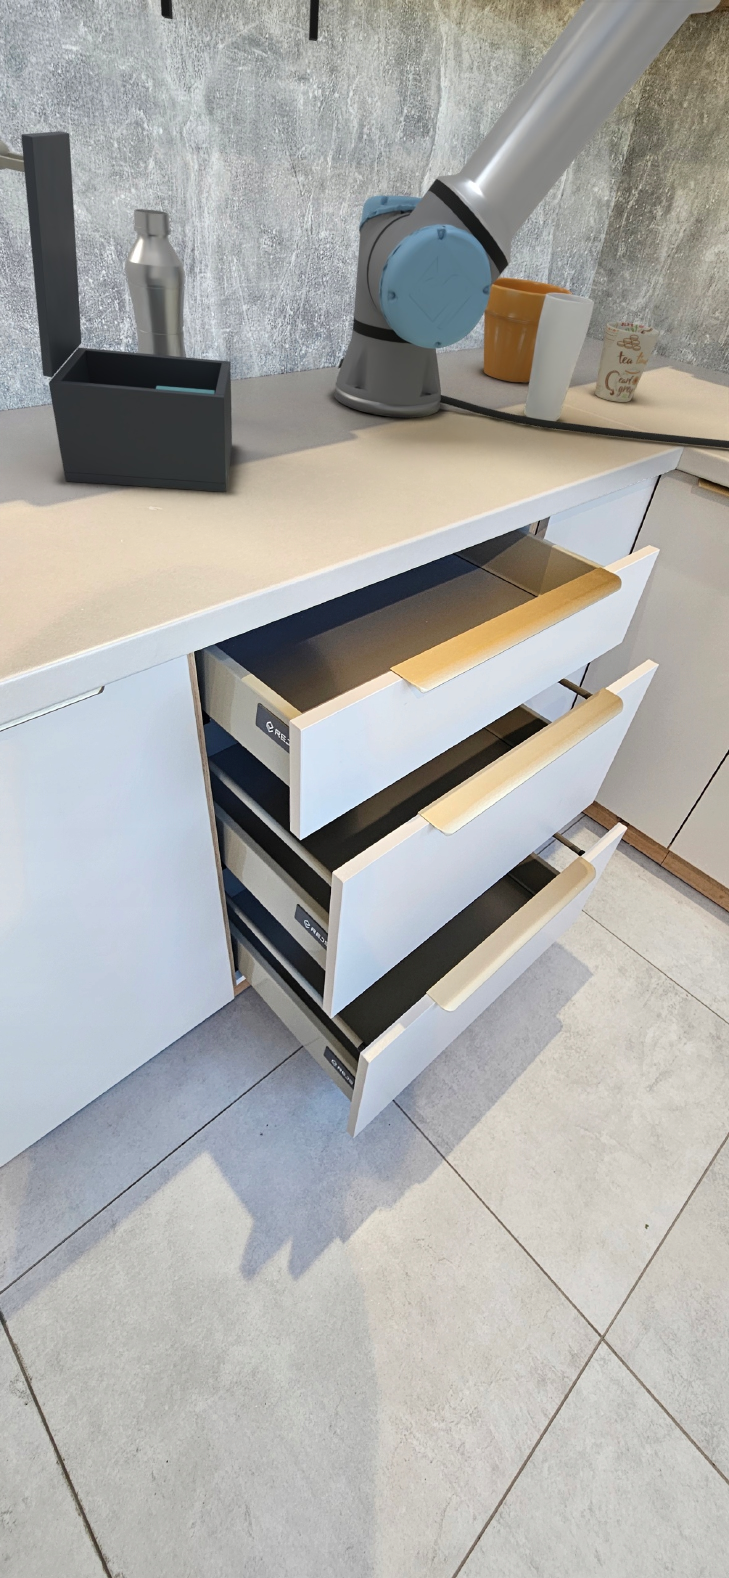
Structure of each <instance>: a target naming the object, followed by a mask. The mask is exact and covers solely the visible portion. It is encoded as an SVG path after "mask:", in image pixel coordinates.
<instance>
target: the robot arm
mask: <svg viewBox="0 0 729 1578" xmlns="http://www.w3.org/2000/svg"><path fill="white" fill-rule="evenodd" d="M721 2H722V0H584V1H583V3H582V4H581V6H580V7H579V8H578V9H577V11H576V12H575V14H574V15H573V17H572V18H571V19H570V20H569V22H568V23H567V25H566V26H565V28H564V29H562V32H561V33H560V34H559V35H558V37H557V38H556V40H555V41H554V42H553V44H552V45H551V47H550V48H549V49H548V50H547V52H546V53H545V54H544V56H543V57H542V59H541V60H540V62H539V63H538V64H537V66H536V67H535V68H534V69H533V71H532V72H531V74H530V75H529V77H528V78H527V79H526V80H525V82H524V83H523V85H521V87H520V88H519V90H518V91H517V92H516V94H515V96H514V97H513V99H512V100H511V101H510V102H509V104H508V105H507V106H506V108H505V109H504V111H503V112H502V114H501V115H500V116H499V117H498V119H497V120H496V122H494V124H493V126H492V127H491V128H490V130H489V131H488V133H487V134H486V135H485V137H484V138H483V139H482V140H481V142H480V144H479V145H478V146H477V148H476V149H475V151H474V152H472V154H471V155H470V157H469V158H468V160H467V161H466V163H465V164H464V166H463V167H462V168H461V169H460V171H459V172H457V173H455V174H448V175H438V176H437V177H436V178H435V180H434V181H433V182H432V184H431V185H430V187H429V188H428V189H427V191H426V192H425V193H424V195H423V196H422V197H417V196H406V195H383V194H382V195H381V194H380V195H373V196H370V197H368V198H367V199H366V201H365V202H364V204H363V207H362V213H361V219H360V222H359V225H358V231H359V243H358V255H357V272H356V284H355V295H354V296H355V297H354V307H353V308H354V310H353V320H352V321H353V324H352V333H351V339H350V340H349V343H348V346H347V349H346V352H345V355H344V357H343V358H341V359H340V361H339V364H338V367H337V369H338V370H339V371H338V374H337V376H336V380H335V384H334V385H335V386H334V387H335V388H334V397H335V399H336V400H337V401H338V402H339V403H340V404H342V405H344V406H346V407H349V408H351V409H354V410H357V411H360V412H363V413H367V414H372V415H378V416H385V417H393V418H420V417H427V416H431V415H433V414H435V413H437V412H438V411H439V410H440V407H441V404H443V405H447V406H451V407H454V408H459V409H462V410H465V411H468V412H470V413H474V414H478V415H481V416H485V417H490V418H493V419H497V420H501V421H506V422H511V423H516V424H520V425H526V426H531V427H537V428H544V429H550V430H557V431H558V430H559V431H564V432H565V431H566V432H567V431H568V432H575V433H584V434H590V435H599V436H607V437H614V438H615V437H616V438H623V439H624V438H625V439H633V440H634V439H635V440H643V441H653V442H663V443H672V444H682V445H689V446H690V445H691V446H700V447H710V448H722V449H729V440H727V439H716V438H715V439H714V438H707V437H706V438H705V437H695V436H685V435H675V434H666V433H658V432H657V433H656V432H646V431H638V430H630V429H629V430H628V429H621V428H611V427H603V426H595V425H587V424H580V423H571V422H563V421H557V420H556V421H549V420H542V419H536V418H530V417H527V416H526V415H525V416H524V415H520V414H515V413H511V412H504V411H500V410H497V409H492V408H488V407H485V406H480V405H477V404H474V403H471V402H468V401H464V400H461V399H457V398H454V397H451V396H447V395H443V394H442V387H441V379H440V372H439V364H438V355H437V349H442V348H446V347H449V346H452V345H455V344H456V343H458V342H460V341H462V340H463V339H464V338H465V337H467V336H468V335H469V334H470V333H471V332H472V331H473V330H474V329H475V328H476V327H477V325H478V324H479V323H480V321H481V319H482V317H483V316H484V312H485V309H486V307H487V304H488V301H489V296H490V290H491V286H492V285H493V283H494V282H495V281H496V280H497V278H498V277H500V276H501V274H502V273H503V272H504V271H505V269H506V268H507V267H508V266H509V265H510V263H511V259H512V258H511V257H512V255H511V253H512V240H513V238H514V236H515V235H516V234H517V233H518V231H519V230H520V229H521V227H522V226H523V225H524V224H525V222H526V221H527V220H528V219H529V218H530V216H531V215H532V214H533V213H534V211H535V210H536V209H537V207H538V206H539V205H540V204H541V202H542V201H543V200H544V198H545V197H546V196H547V195H548V194H549V192H551V189H553V187H554V186H555V185H556V184H557V182H558V181H559V180H560V179H561V177H562V176H563V175H564V173H565V172H566V171H567V170H568V169H569V167H570V166H571V164H573V162H574V161H575V160H576V158H577V157H578V156H579V154H580V153H581V152H582V151H583V149H584V148H585V147H586V146H587V144H589V142H590V141H591V139H592V138H593V137H594V136H595V135H596V133H597V132H598V131H599V129H600V128H601V127H602V126H603V124H604V123H605V122H606V121H607V119H608V118H609V117H610V116H611V114H612V113H613V112H614V110H615V109H616V108H617V107H618V105H620V103H621V102H622V100H623V99H624V98H625V97H626V95H627V94H628V93H629V92H630V90H632V88H633V86H634V85H635V84H636V83H637V81H638V80H639V79H640V78H641V76H643V74H644V73H645V71H646V70H647V69H648V68H649V67H650V65H651V64H652V63H653V62H654V61H655V59H656V58H657V56H658V55H659V54H660V53H661V51H662V50H663V49H664V48H665V46H666V45H667V44H668V42H669V41H670V40H671V39H672V37H673V36H674V35H675V34H676V32H677V31H678V30H679V29H680V27H681V26H682V25H683V24H684V23H685V21H686V20H687V19H688V17H689V16H690V15H693V14H700V13H701V14H703V13H709V12H712V11H714V10H715V9H716V8H717V7H718V6H719V5H720V3H721ZM160 13H161V14H160V15H161V16H162V17H163V18H164V19H167V20H168V19H169V20H174V15H173V14H174V13H173V0H160ZM319 15H320V0H309V19H308V20H309V21H308V41H311V42H318V40H319V39H318V38H319Z"/></svg>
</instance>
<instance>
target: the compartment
mask: <svg viewBox="0 0 729 1578" xmlns="http://www.w3.org/2000/svg"><path fill="white" fill-rule="evenodd" d="M231 364H232V363H231V361H228V360H220V359H207V358H199V357H198V358H197V357H187V356H186V357H176V356H166V355H155V354H144V353H138V352H133V351H121V350H111V349H101V348H100V349H99V348H87V347H78V348H77V349H76V350H75V351H74V352H73V353H72V355H71V356H70V357H69V358H68V359H67V360H66V362H65V363H64V364H63V365H62V366H61V367H60V369H59V370H58V371H57V372H56V373H55V375H54V376H53V377H51V379H50V380H49V382H48V387H49V392H50V399H51V405H52V409H53V410H52V411H53V417H54V420H55V429H56V433H57V440H58V446H59V451H60V458H61V463H62V469H63V474H64V481H65V482H75V483H89V484H90V483H91V484H104V485H117V486H131V487H132V486H133V487H147V488H161V489H177V490H191V491H207V492H221V493H226V492H227V488H228V481H229V473H230V465H231V458H232V450H233V427H232V425H233V422H232V420H233V419H232V418H233V417H232V375H231V373H232V371H231V369H232V366H231ZM157 386H166V387H178V388H190V389H203V390H214V391H215V394H208V393H197V392H185V391H174V390H162V389H156V387H157Z"/></svg>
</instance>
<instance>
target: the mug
mask: <svg viewBox="0 0 729 1578" xmlns="http://www.w3.org/2000/svg"><path fill="white" fill-rule="evenodd" d="M659 337H660V331H659V330H658V329H656V328H652V327H650V326H646V325H640V324H637V323H630V322H622V321H609V322H607V324H606V326H605V329H604V337H603V341H602V347H601V353H600V359H599V367H598V370H597V371H598V372H597V378H596V383H595V390H594V394H595V396H596V397H598V398H600V399H603V400H607V401H610V402H618V403H628V402H631V400H632V398H633V396H634V394H635V392H636V389H637V387H638V385H639V382H640V380H641V378H642V376H643V374H644V371H645V369H646V367H647V364H648V362H649V360H650V357H651V355H652V353H653V350H654V348H655V346H656V343H657V342H658V339H659Z"/></svg>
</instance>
